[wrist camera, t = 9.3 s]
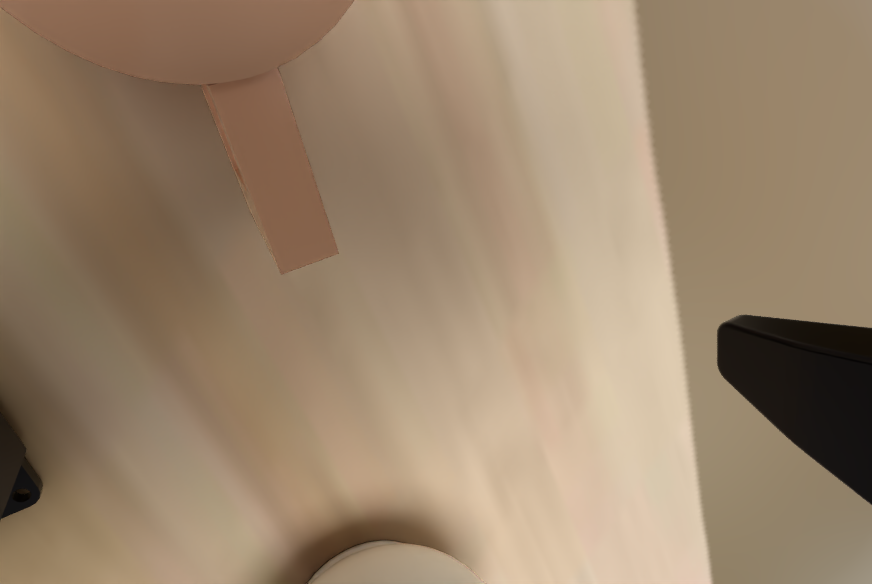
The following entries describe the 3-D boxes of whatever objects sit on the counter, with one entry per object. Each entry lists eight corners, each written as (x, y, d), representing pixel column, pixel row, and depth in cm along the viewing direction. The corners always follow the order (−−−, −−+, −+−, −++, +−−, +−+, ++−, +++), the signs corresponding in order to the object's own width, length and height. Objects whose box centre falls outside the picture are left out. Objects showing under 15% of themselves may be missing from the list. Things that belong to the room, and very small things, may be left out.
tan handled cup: (156, 218, 18) (143, 342, 10) (-35, -186, 13) (-328, -529, 5) (351, 156, 19) (470, 220, 12) (241, -222, 15) (313, -525, 7)
